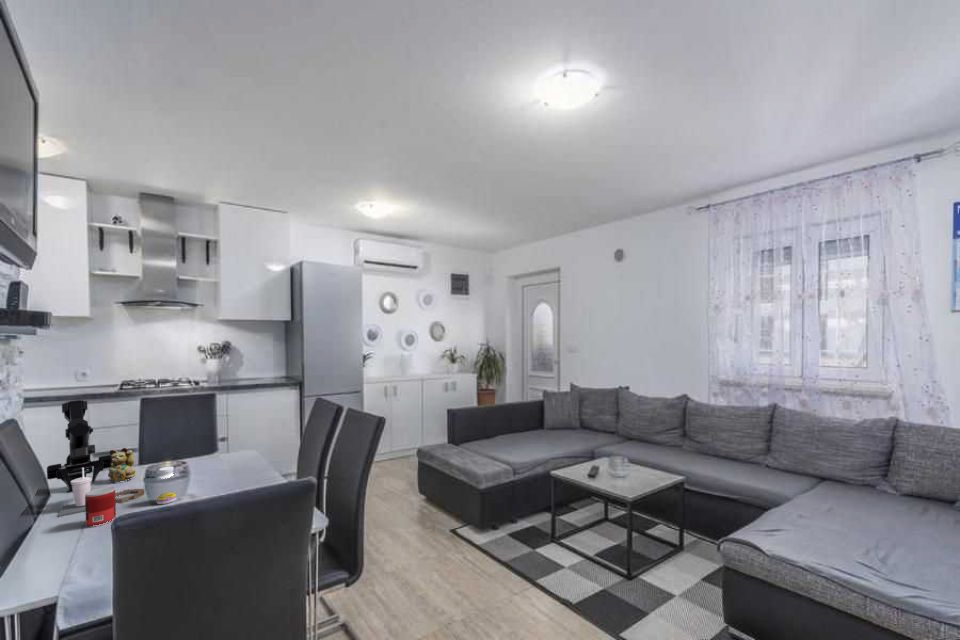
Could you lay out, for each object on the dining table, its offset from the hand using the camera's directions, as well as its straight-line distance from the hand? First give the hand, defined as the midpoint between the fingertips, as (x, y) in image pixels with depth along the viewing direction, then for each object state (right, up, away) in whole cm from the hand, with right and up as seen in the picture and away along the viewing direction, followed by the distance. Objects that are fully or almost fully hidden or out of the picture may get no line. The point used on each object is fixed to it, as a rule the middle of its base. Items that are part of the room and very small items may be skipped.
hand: (81, 485), depth 167 cm
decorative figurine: (-11, -10, +32) cm, 35 cm away
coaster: (0, -9, +1) cm, 9 cm away
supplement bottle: (+31, -8, +3) cm, 32 cm away
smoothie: (-1, -8, +1) cm, 8 cm away
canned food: (+20, -8, -14) cm, 25 cm away
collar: (+9, -9, +10) cm, 16 cm away
